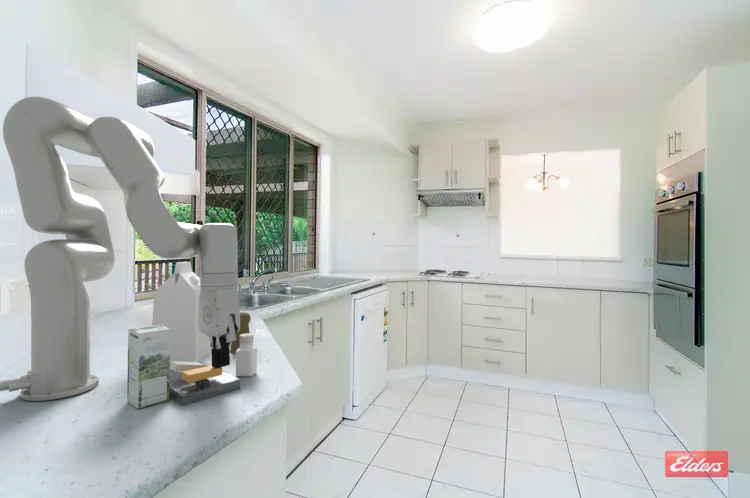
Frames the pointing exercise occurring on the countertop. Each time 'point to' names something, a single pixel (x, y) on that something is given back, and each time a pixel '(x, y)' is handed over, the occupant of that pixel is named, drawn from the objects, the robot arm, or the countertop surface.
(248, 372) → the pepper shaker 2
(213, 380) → the breaker panel
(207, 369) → the rocker orange
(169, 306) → the milk
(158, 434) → the countertop surface
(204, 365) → the rocker white
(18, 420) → the countertop surface
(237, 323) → the robot arm
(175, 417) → the countertop surface
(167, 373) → the syrup box
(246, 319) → the pepper shaker
